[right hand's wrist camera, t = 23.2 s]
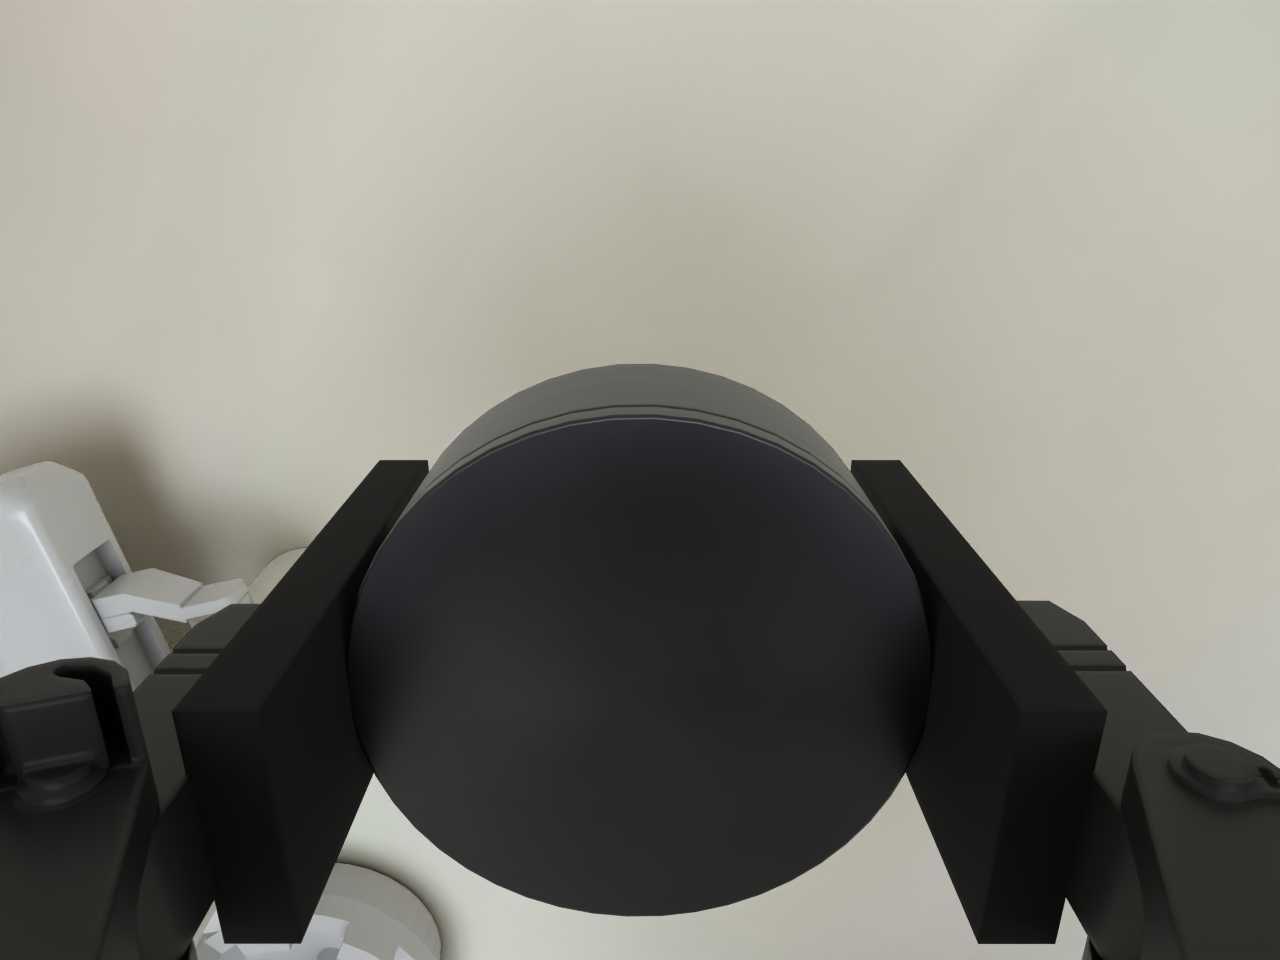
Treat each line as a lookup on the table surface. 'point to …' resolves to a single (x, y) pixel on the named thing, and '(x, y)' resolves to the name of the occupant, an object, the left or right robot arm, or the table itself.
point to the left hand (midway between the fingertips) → (279, 679)
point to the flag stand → (349, 925)
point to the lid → (639, 646)
